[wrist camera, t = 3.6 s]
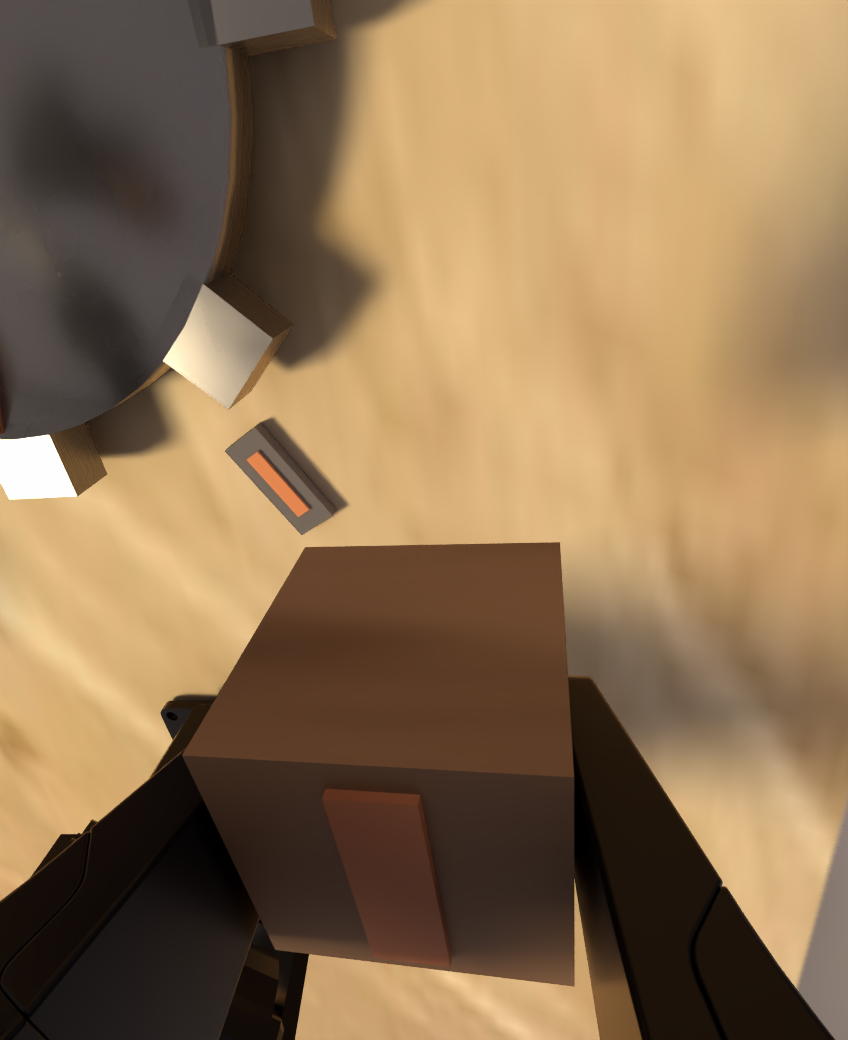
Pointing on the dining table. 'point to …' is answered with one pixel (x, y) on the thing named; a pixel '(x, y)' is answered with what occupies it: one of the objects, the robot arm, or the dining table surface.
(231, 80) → the sprocket
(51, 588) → the dining table surface
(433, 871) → the link block
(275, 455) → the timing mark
